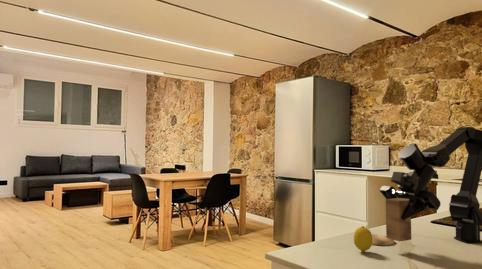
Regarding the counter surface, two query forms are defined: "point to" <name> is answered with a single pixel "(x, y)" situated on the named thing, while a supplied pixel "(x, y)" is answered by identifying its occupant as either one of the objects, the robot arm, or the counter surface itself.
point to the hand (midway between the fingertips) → (395, 217)
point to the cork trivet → (381, 240)
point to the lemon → (363, 239)
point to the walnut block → (397, 220)
